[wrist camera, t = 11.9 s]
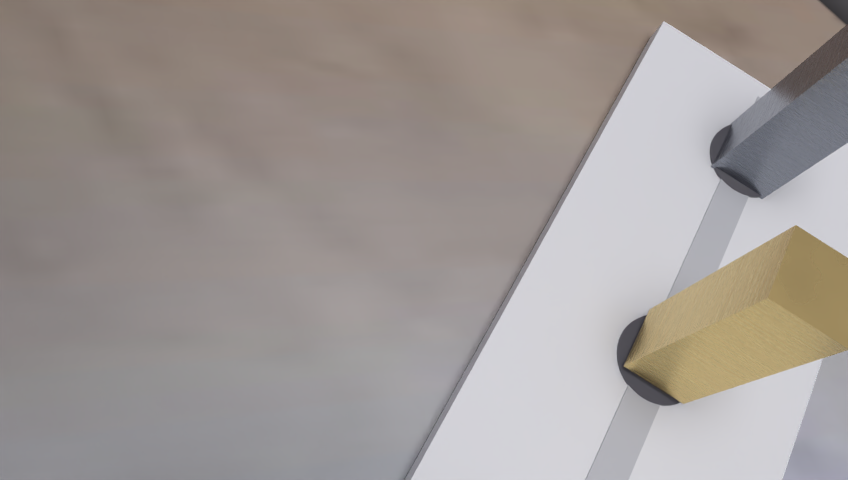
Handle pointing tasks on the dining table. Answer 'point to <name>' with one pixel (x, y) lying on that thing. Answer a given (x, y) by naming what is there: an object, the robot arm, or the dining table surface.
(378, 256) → the dining table surface
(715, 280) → the block
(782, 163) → the fixed leg
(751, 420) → the board
